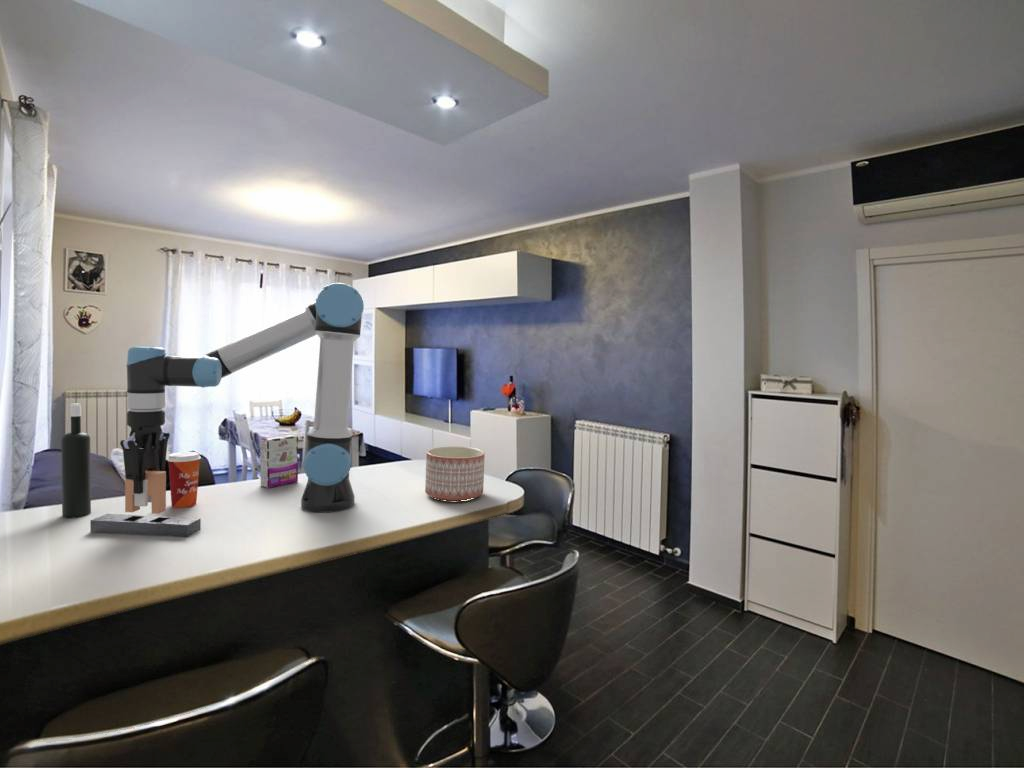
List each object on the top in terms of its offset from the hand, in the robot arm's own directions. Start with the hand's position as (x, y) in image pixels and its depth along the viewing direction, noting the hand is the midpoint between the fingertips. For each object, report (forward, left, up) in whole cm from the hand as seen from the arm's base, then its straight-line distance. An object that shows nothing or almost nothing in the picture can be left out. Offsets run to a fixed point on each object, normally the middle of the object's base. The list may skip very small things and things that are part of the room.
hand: (145, 503), depth 123 cm
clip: (0, 0, -2) cm, 2 cm away
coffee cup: (+5, -21, -7) cm, 23 cm away
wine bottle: (+26, -9, -7) cm, 28 cm away
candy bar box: (-10, -47, -7) cm, 49 cm away
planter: (-71, -43, -7) cm, 83 cm away
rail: (0, 0, -7) cm, 7 cm away
